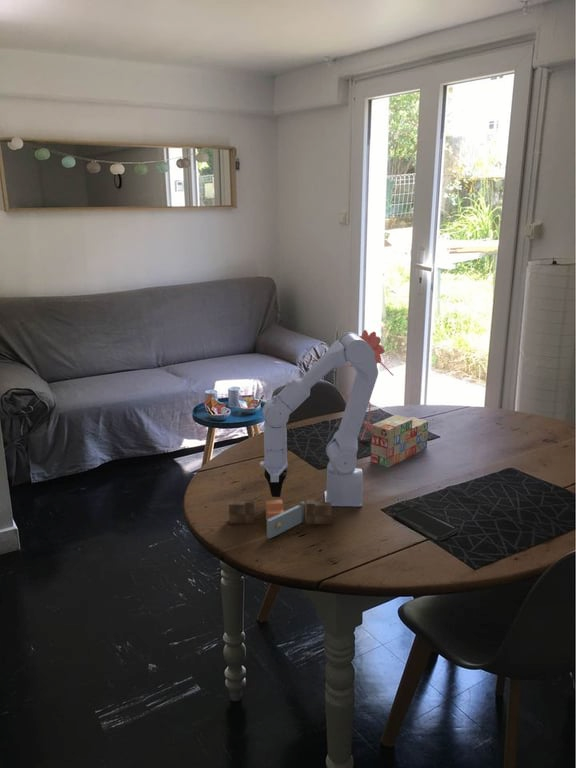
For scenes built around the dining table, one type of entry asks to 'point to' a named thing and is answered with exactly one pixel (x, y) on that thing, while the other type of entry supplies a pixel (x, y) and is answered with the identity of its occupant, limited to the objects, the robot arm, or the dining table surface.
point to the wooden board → (245, 512)
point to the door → (286, 520)
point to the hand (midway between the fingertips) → (276, 495)
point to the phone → (425, 522)
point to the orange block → (273, 508)
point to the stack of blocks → (397, 439)
